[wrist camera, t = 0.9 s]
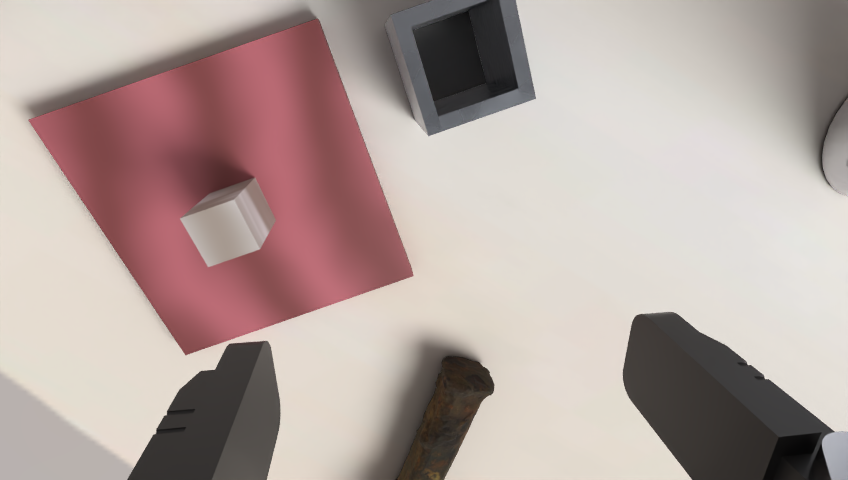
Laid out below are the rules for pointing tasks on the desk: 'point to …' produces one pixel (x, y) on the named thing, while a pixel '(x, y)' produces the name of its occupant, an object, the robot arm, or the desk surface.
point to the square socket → (498, 54)
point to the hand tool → (447, 418)
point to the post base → (222, 147)
